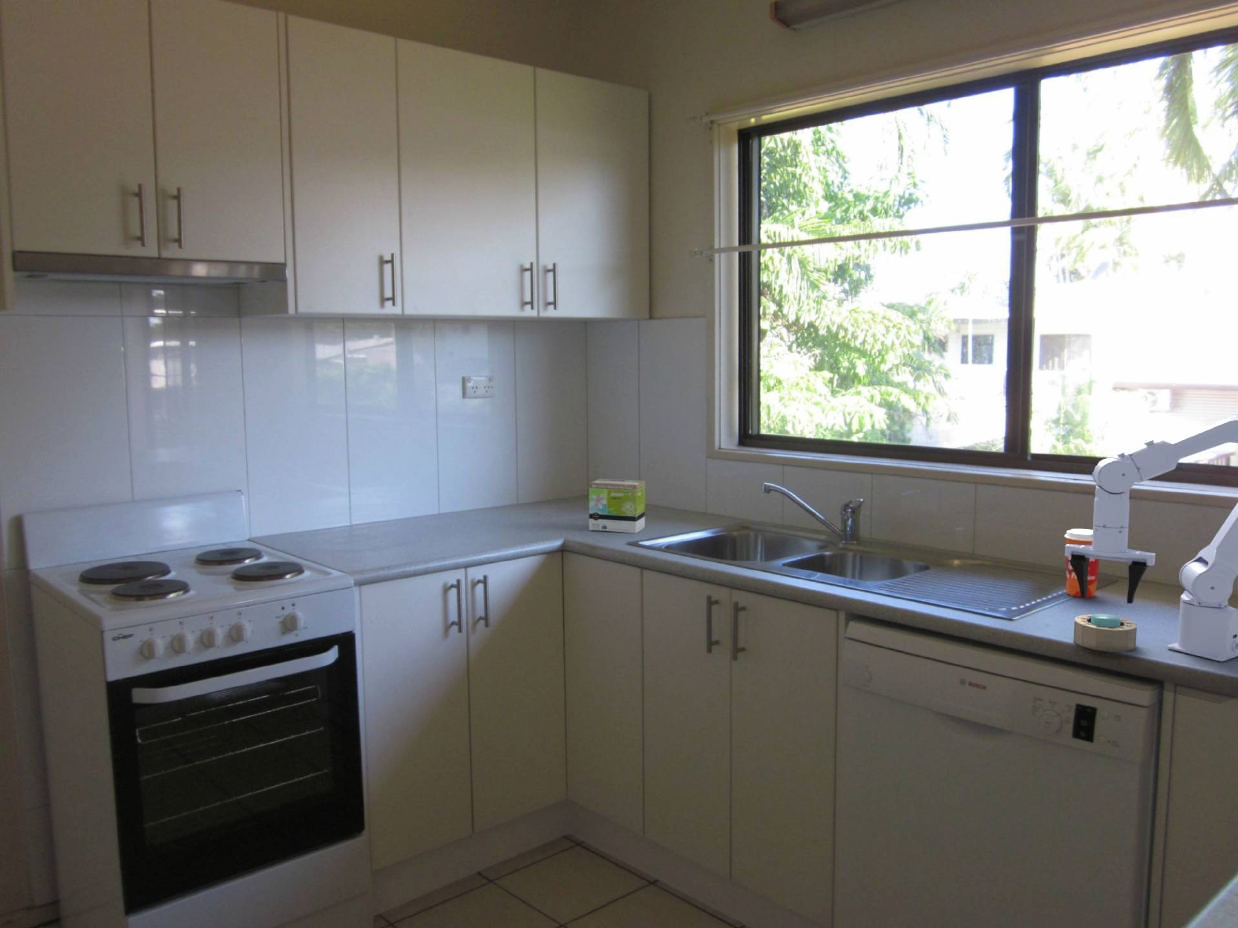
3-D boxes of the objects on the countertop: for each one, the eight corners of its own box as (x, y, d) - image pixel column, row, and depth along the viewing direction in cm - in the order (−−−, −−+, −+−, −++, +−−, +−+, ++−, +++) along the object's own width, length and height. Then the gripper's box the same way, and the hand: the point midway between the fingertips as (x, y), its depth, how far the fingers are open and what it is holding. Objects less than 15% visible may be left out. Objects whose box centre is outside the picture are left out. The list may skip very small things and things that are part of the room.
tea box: (588, 531, 292) (587, 482, 290) (598, 525, 302) (598, 477, 300) (636, 533, 288) (636, 483, 286) (645, 527, 297) (645, 479, 296)
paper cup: (1055, 594, 215) (1059, 531, 213) (1069, 588, 220) (1072, 526, 219) (1093, 600, 209) (1096, 536, 208) (1106, 594, 215) (1109, 531, 213)
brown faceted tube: (1146, 645, 178) (1148, 624, 177) (1115, 655, 172) (1116, 633, 172) (1093, 632, 186) (1094, 611, 186) (1062, 641, 181) (1063, 620, 180)
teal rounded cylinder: (1124, 644, 179) (1126, 618, 178) (1110, 649, 176) (1111, 622, 175) (1099, 638, 183) (1100, 612, 182) (1084, 642, 180) (1085, 616, 179)
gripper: (1159, 526, 176) (1155, 600, 177) (1072, 518, 184) (1069, 589, 186) (1153, 532, 170) (1148, 608, 172) (1063, 523, 179) (1060, 596, 180)
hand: (1106, 599), depth 178 cm, fingers open, 7 cm apart
